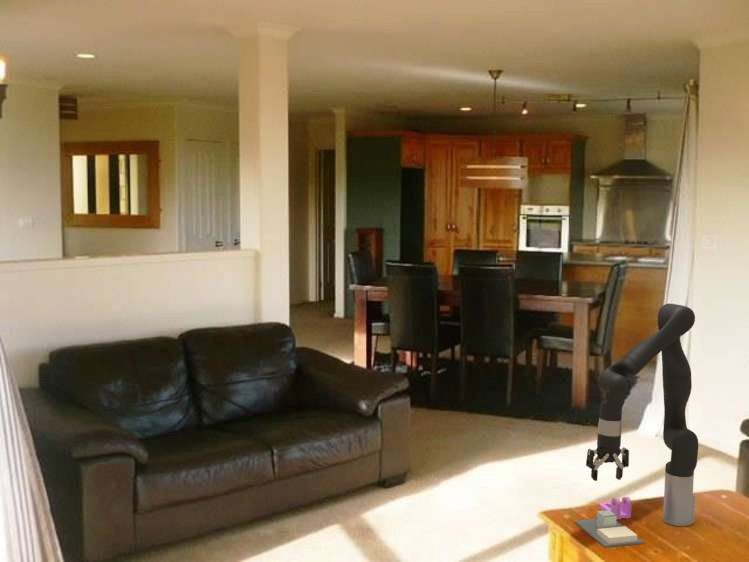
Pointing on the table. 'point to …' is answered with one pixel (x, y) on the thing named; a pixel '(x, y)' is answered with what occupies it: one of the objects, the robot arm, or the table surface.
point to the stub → (606, 519)
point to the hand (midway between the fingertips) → (606, 479)
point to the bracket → (618, 507)
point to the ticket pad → (593, 533)
